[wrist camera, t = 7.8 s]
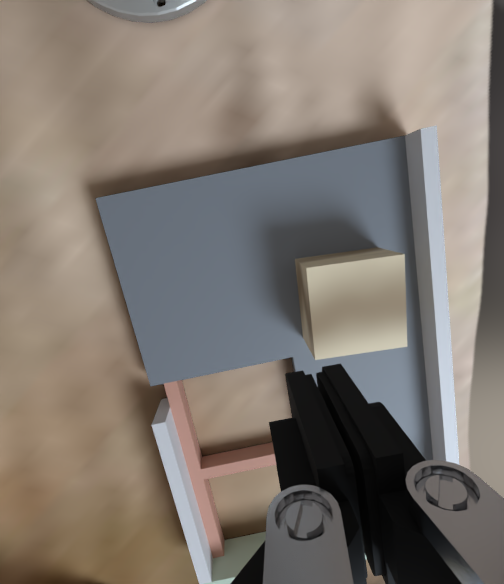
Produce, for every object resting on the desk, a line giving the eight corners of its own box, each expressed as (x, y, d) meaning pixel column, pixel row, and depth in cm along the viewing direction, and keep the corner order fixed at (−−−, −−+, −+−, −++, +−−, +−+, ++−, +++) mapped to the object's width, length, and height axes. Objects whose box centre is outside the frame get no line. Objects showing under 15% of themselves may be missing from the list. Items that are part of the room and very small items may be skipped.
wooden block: (294, 258, 25) (306, 267, 21) (377, 247, 25) (404, 254, 21) (303, 337, 26) (315, 360, 22) (381, 326, 26) (407, 346, 23)
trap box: (103, 198, 25) (80, 196, 21) (410, 136, 25) (441, 123, 21) (205, 553, 32) (201, 599, 28) (440, 503, 32) (468, 542, 29)
